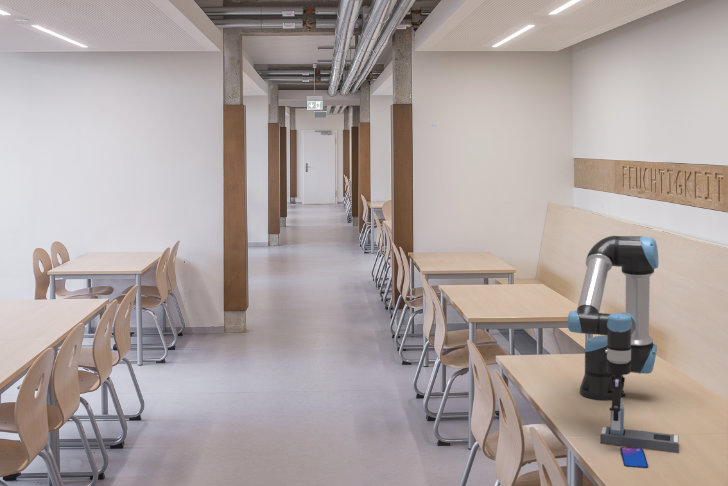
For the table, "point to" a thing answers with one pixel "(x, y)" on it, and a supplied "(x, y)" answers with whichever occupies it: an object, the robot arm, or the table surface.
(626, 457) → the smartphone
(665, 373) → the table surface
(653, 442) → the panel
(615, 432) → the plug
